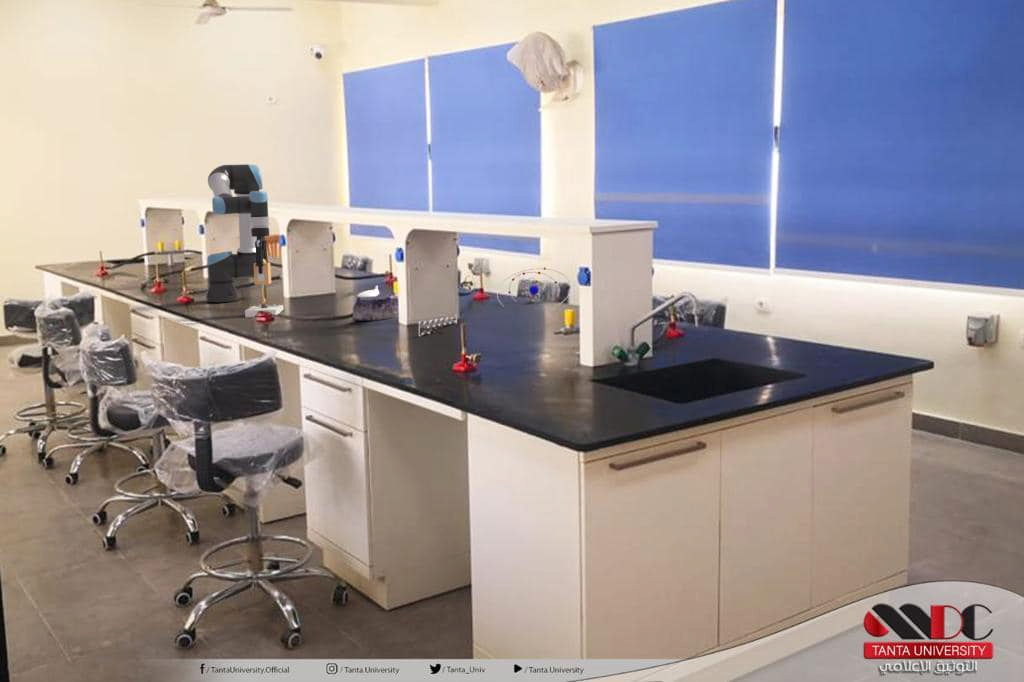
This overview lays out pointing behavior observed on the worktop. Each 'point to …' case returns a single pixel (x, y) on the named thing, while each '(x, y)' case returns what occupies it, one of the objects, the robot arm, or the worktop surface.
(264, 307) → the block
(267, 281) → the orange cube with dome
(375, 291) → the driver head
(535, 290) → the atomic model
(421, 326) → the molecular model
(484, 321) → the worktop surface
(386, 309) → the geode
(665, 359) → the worktop surface
